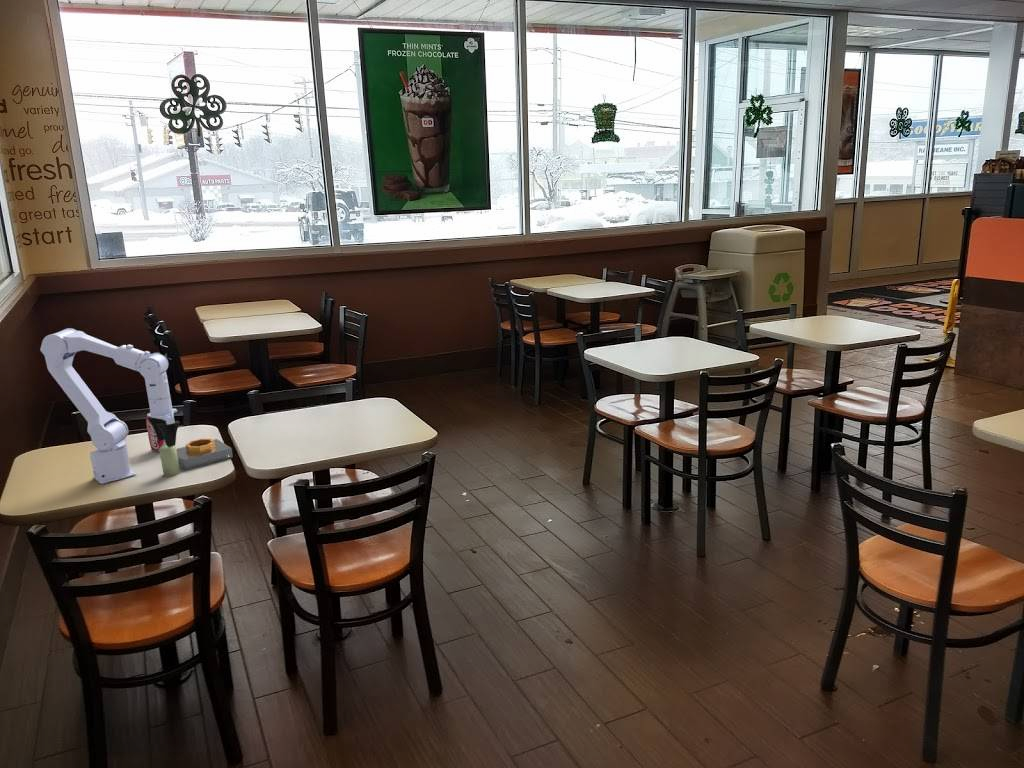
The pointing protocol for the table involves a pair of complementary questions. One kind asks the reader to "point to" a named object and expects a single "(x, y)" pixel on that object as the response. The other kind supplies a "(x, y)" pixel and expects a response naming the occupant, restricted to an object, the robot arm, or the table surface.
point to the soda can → (153, 437)
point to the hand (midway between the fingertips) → (166, 442)
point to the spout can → (169, 460)
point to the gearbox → (202, 453)
